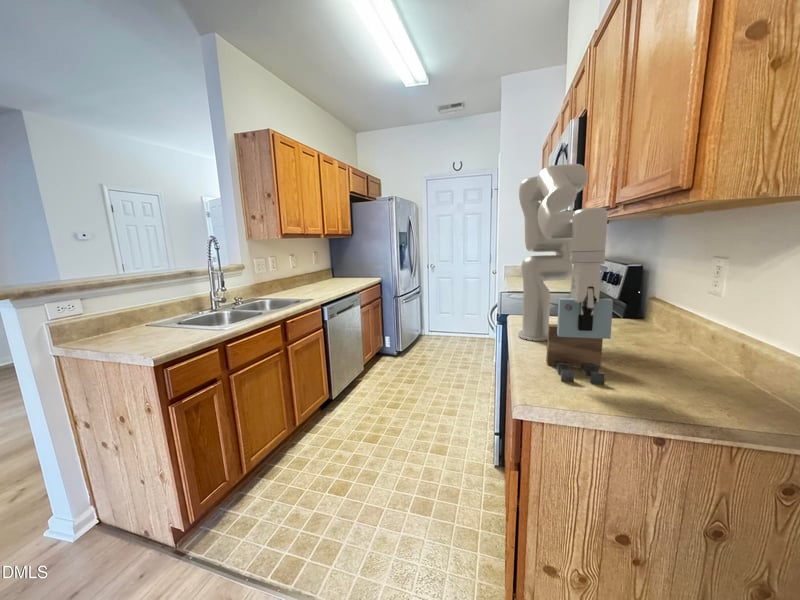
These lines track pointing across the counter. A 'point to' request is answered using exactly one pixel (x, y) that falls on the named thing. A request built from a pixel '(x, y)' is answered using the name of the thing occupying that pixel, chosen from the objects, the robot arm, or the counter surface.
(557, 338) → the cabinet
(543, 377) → the counter surface
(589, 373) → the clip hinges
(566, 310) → the block
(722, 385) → the counter surface
